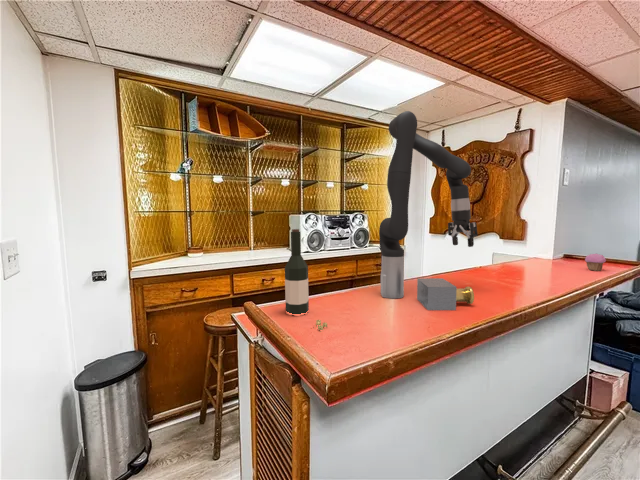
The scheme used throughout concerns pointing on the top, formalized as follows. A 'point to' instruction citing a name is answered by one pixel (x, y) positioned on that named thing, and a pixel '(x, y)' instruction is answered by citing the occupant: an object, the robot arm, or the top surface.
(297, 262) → the wine bottle
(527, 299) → the top surface
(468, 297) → the end cap
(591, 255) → the cupcake
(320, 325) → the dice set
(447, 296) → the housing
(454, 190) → the robot arm
